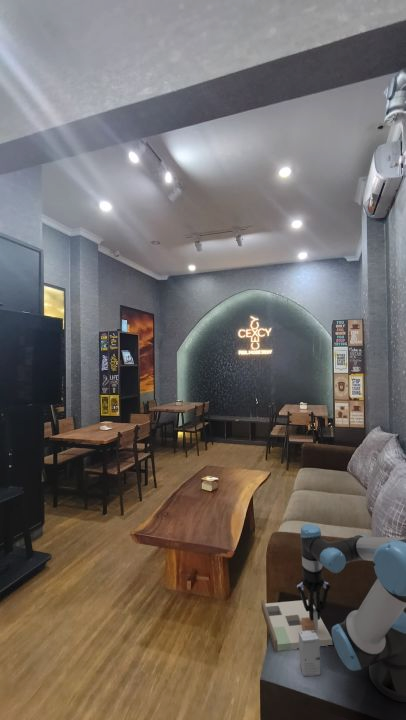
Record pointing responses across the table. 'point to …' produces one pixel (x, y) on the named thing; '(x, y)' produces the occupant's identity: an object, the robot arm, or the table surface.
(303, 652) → the skincare box
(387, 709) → the table surface
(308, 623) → the block
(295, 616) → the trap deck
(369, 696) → the table surface
